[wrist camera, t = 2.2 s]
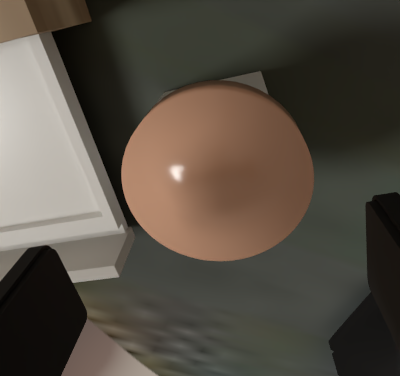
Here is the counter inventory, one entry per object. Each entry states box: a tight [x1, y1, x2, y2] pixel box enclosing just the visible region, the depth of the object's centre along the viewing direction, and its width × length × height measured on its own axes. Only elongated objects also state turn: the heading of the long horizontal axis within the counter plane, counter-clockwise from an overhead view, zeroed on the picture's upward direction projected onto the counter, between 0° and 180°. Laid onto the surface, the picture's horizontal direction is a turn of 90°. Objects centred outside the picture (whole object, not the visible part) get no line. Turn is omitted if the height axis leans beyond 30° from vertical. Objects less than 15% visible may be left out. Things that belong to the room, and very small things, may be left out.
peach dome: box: [121, 80, 314, 261], centre depth 14 cm, size 7×7×2 cm
